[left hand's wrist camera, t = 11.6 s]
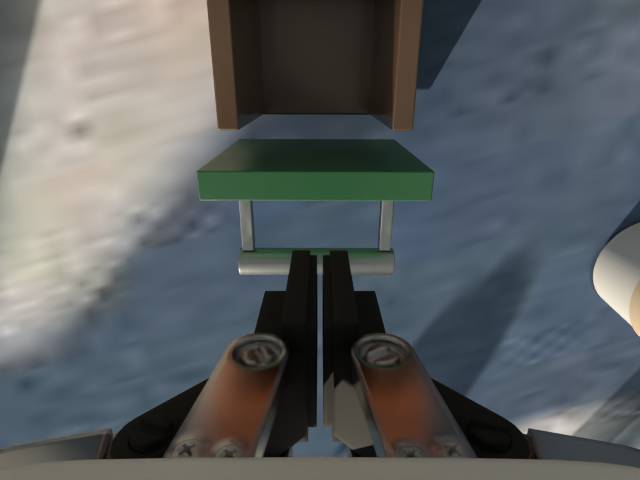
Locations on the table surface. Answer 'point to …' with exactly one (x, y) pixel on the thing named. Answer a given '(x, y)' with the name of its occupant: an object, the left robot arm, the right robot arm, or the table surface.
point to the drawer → (315, 98)
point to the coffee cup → (621, 275)
